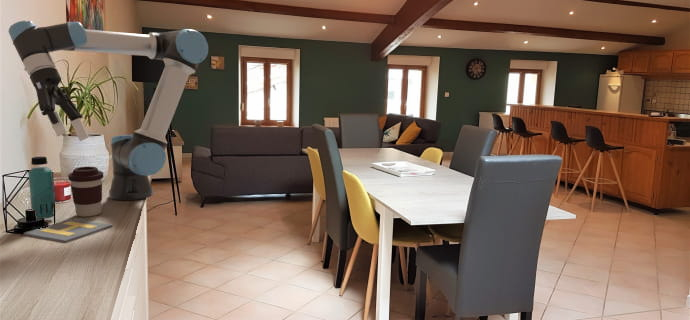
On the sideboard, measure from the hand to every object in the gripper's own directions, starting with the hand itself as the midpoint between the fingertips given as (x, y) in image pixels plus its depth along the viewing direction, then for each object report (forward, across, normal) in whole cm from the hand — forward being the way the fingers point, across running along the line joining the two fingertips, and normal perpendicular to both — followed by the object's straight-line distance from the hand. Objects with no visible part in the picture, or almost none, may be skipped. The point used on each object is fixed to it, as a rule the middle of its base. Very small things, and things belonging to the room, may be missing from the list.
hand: (73, 136), depth 147 cm
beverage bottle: (+17, -9, -22) cm, 30 cm away
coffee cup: (+20, -17, -12) cm, 29 cm away
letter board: (+24, 0, -12) cm, 27 cm away
